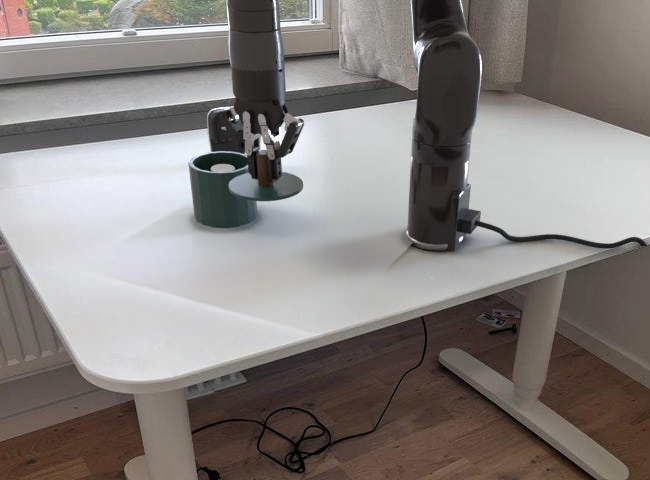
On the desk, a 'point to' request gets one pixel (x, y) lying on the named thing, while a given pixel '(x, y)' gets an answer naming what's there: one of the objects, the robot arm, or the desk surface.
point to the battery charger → (219, 133)
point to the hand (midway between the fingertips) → (265, 178)
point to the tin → (219, 191)
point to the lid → (265, 183)
